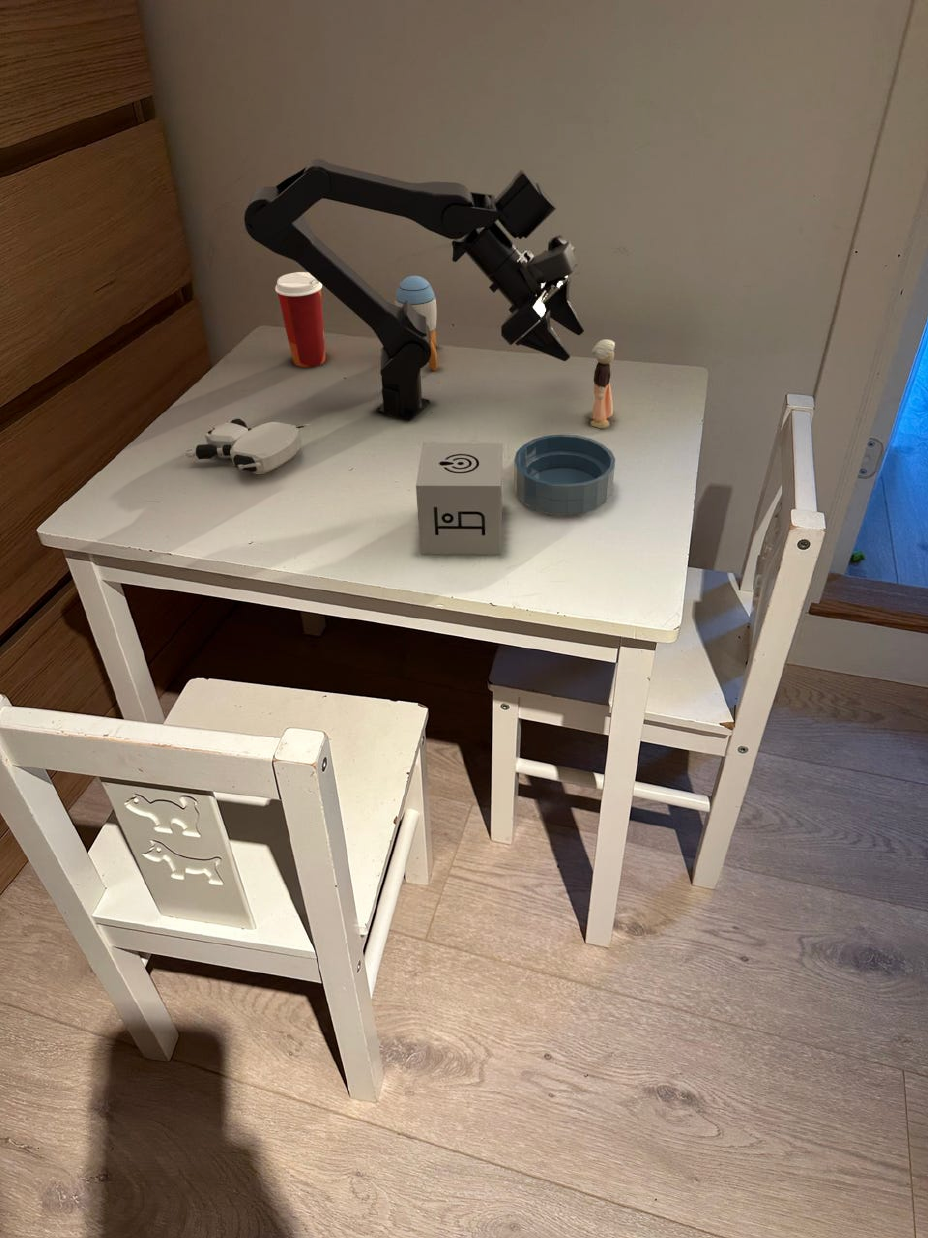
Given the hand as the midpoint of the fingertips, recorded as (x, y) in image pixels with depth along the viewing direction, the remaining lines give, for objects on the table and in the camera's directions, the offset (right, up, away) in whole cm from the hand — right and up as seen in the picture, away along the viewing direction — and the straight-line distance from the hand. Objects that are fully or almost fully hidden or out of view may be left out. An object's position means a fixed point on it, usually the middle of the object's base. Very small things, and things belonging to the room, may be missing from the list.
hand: (575, 345), depth 130 cm
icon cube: (-16, -29, -15) cm, 36 cm away
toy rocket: (-25, +5, +24) cm, 35 cm away
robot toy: (-47, -17, 0) cm, 50 cm away
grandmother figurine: (+5, -9, +6) cm, 12 cm away
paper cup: (-43, +5, +25) cm, 50 cm away
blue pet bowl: (-3, -23, -9) cm, 24 cm away
